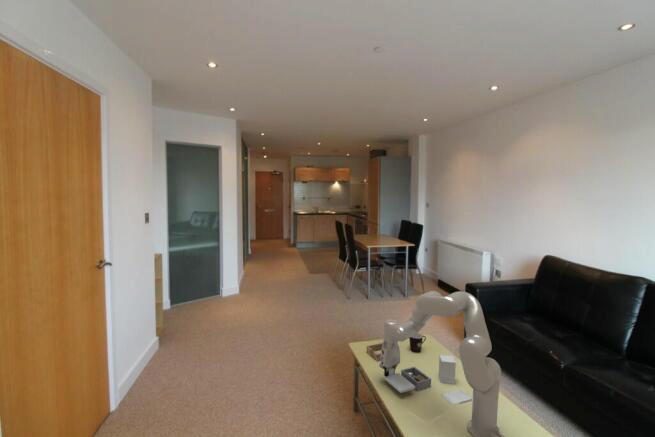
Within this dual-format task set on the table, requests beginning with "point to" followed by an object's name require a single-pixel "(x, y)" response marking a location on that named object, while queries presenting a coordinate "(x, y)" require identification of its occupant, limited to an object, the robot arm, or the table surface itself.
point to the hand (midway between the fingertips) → (389, 376)
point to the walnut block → (419, 378)
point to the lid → (398, 381)
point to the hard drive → (456, 397)
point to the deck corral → (372, 349)
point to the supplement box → (447, 369)
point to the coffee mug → (416, 342)
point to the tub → (418, 385)
